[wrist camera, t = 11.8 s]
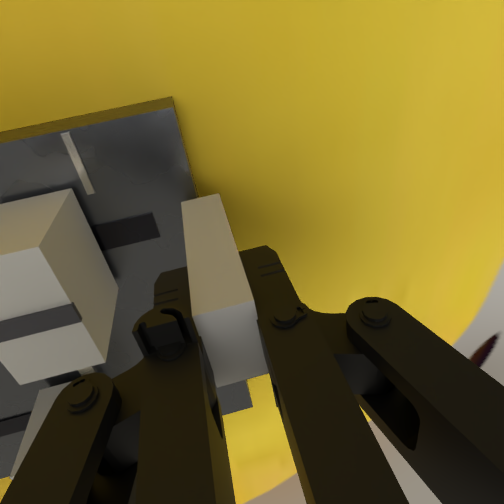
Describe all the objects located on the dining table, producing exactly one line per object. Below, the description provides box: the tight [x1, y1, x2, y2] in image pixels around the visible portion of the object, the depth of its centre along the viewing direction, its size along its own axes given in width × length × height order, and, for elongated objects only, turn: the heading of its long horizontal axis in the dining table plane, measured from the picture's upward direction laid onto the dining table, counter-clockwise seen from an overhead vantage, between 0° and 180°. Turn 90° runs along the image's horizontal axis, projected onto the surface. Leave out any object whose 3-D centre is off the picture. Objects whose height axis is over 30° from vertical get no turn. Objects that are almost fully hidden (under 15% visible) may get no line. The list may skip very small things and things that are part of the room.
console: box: [0, 97, 253, 479], centre depth 19 cm, size 22×19×2 cm
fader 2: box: [9, 381, 72, 480], centre depth 19 cm, size 3×5×5 cm, turn 9°
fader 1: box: [0, 188, 119, 385], centre depth 13 cm, size 3×5×4 cm, turn 9°
